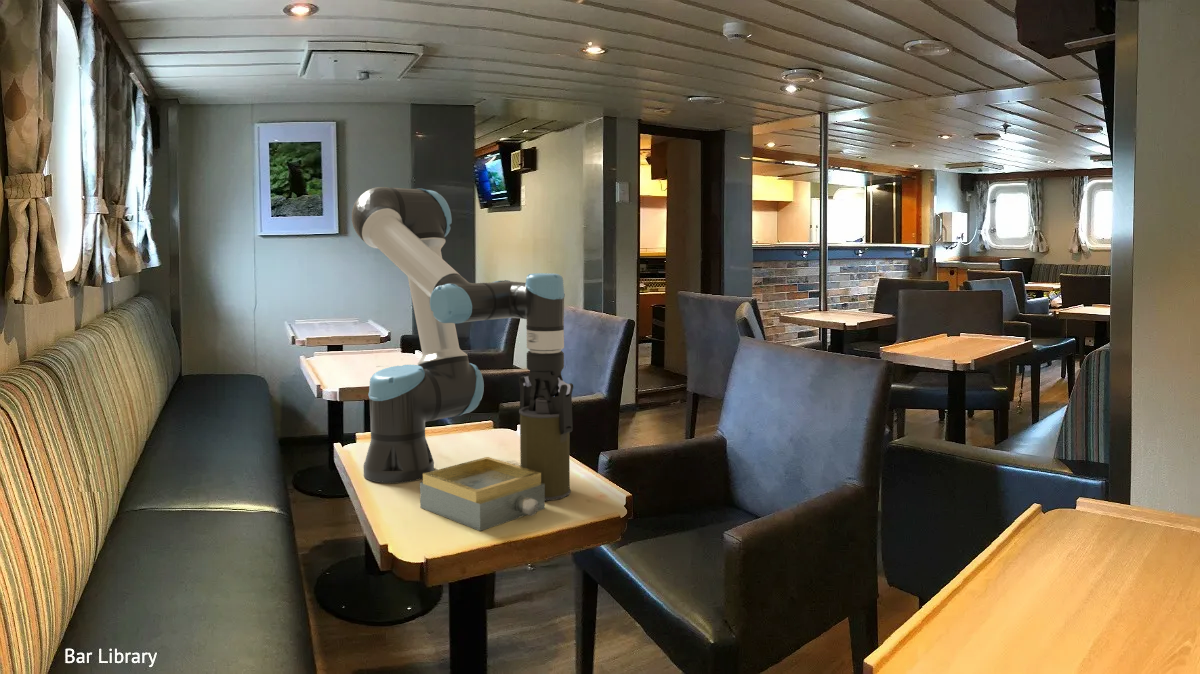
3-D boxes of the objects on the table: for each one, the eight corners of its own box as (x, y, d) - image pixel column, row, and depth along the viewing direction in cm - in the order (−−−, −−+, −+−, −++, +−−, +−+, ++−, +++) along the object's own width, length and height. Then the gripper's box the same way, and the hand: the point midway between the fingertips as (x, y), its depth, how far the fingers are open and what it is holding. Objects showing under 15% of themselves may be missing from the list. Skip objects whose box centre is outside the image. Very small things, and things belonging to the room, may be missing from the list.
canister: (563, 502, 157) (563, 403, 155) (513, 498, 159) (512, 400, 157) (576, 485, 168) (576, 392, 165) (528, 482, 170) (527, 390, 167)
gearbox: (420, 507, 154) (419, 472, 153) (484, 488, 166) (484, 455, 165) (491, 535, 140) (490, 497, 139) (555, 512, 152) (555, 476, 151)
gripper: (500, 347, 163) (501, 457, 166) (565, 357, 151) (565, 475, 154) (527, 344, 169) (527, 450, 172) (592, 353, 156) (591, 467, 159)
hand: (545, 462), depth 163 cm, fingers open, 6 cm apart
